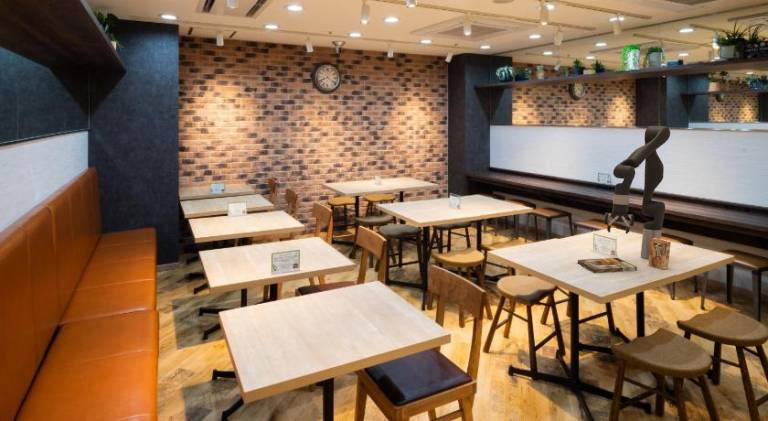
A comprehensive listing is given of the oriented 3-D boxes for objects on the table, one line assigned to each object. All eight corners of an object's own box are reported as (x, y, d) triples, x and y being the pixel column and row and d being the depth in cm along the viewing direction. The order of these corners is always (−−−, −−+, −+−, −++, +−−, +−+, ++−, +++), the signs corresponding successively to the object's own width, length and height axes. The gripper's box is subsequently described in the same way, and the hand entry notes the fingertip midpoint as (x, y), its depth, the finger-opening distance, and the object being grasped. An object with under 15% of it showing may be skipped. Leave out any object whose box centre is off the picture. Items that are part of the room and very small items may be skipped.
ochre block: (611, 263, 263) (611, 258, 262) (618, 266, 257) (618, 261, 256) (601, 263, 262) (601, 258, 261) (607, 267, 256) (608, 261, 255)
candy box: (668, 268, 259) (671, 240, 256) (664, 269, 257) (667, 242, 254) (651, 264, 266) (654, 237, 263) (647, 265, 264) (650, 238, 261)
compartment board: (617, 261, 273) (617, 255, 272) (636, 270, 256) (637, 264, 256) (577, 263, 270) (578, 257, 269) (594, 272, 253) (594, 266, 253)
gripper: (634, 203, 259) (630, 232, 261) (605, 201, 263) (602, 230, 265) (637, 204, 251) (633, 235, 254) (607, 203, 255) (604, 233, 258)
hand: (617, 232), depth 260 cm, fingers open, 8 cm apart
